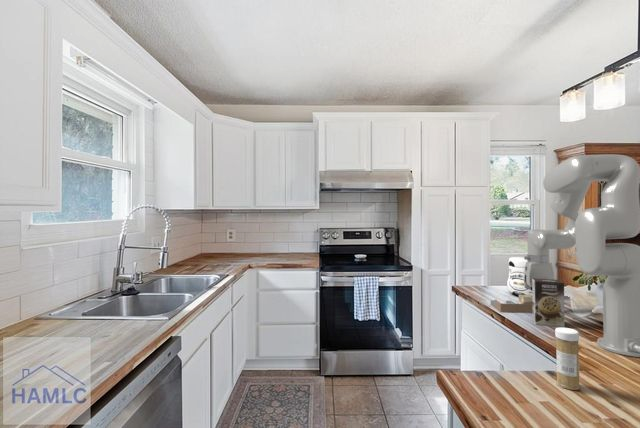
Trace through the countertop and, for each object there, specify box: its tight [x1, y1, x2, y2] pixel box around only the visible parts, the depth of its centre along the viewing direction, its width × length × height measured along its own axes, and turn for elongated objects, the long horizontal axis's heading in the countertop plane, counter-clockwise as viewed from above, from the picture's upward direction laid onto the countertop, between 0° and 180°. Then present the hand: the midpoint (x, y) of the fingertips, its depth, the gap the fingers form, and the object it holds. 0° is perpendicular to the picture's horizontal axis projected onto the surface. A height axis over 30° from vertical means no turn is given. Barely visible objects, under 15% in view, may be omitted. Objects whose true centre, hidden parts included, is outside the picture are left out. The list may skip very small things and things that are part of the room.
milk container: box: [506, 256, 532, 297], centre depth 163 cm, size 17×17×18 cm
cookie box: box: [531, 278, 565, 328], centre depth 123 cm, size 9×6×16 cm
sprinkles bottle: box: [554, 326, 581, 391], centre depth 80 cm, size 5×5×14 cm
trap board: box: [490, 299, 532, 314], centre depth 141 cm, size 11×15×4 cm
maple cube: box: [518, 295, 532, 304], centre depth 139 cm, size 4×4×4 cm
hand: (539, 302), depth 138 cm, fingers closed
